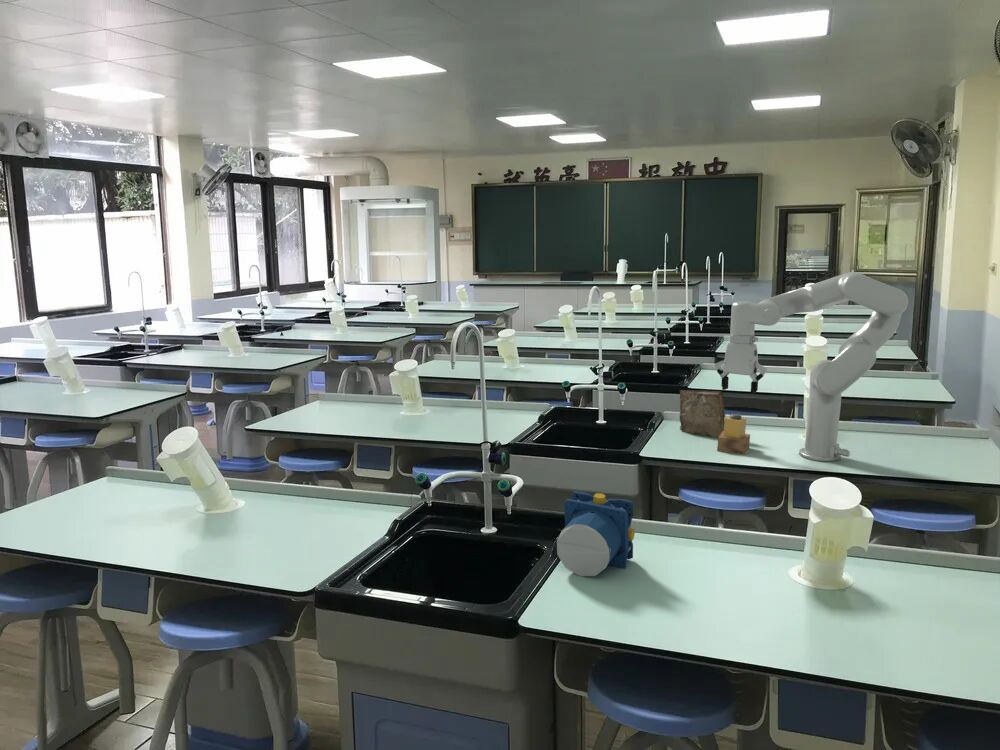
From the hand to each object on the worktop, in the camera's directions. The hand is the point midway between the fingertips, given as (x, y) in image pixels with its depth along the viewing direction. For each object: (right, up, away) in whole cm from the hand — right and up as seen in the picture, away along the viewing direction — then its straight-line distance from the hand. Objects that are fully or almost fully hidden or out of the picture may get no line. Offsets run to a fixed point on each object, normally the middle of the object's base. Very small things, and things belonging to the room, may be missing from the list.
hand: (739, 391), depth 261 cm
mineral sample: (-7, -16, +23) cm, 29 cm away
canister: (-1, -15, +3) cm, 15 cm away
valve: (-59, -36, -88) cm, 112 cm away
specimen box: (-1, -20, +4) cm, 20 cm away
